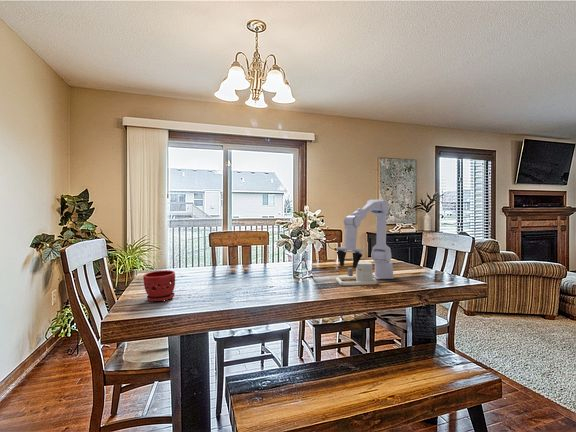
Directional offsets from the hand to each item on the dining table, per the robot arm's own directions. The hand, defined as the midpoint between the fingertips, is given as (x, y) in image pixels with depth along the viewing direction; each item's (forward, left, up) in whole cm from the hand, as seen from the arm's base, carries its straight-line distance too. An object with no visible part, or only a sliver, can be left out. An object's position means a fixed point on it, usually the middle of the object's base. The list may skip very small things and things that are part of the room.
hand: (348, 266), depth 160 cm
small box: (-11, -10, -11) cm, 19 cm away
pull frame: (-7, -15, -10) cm, 20 cm away
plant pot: (+88, +9, -11) cm, 89 cm away
